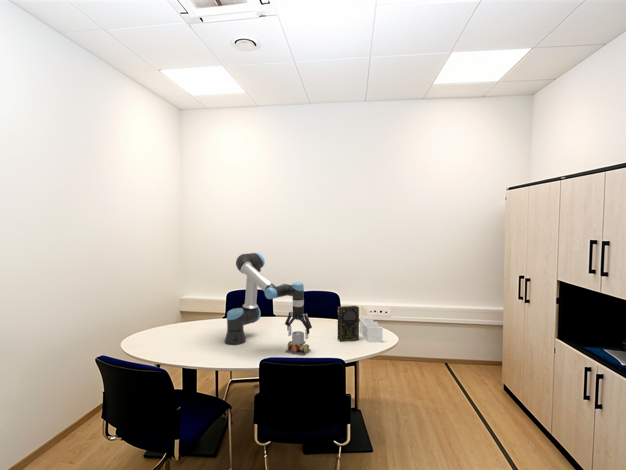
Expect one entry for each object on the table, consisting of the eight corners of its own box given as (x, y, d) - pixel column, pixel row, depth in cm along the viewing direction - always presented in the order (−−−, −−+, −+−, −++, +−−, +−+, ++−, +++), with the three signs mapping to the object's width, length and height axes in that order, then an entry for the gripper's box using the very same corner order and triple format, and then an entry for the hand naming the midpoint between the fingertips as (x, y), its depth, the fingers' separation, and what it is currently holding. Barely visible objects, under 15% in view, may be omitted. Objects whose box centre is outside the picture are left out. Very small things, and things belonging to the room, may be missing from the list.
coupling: (296, 339, 240) (296, 330, 240) (306, 341, 236) (306, 332, 236) (289, 342, 233) (289, 333, 233) (299, 344, 229) (299, 335, 229)
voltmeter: (340, 342, 252) (340, 308, 252) (336, 338, 261) (336, 305, 260) (360, 340, 256) (360, 307, 256) (355, 337, 265) (355, 304, 264)
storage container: (359, 332, 277) (359, 318, 277) (373, 332, 278) (373, 318, 278) (367, 342, 252) (367, 327, 252) (382, 342, 254) (382, 327, 253)
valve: (284, 352, 233) (284, 333, 233) (293, 347, 242) (293, 329, 242) (302, 356, 226) (302, 337, 226) (310, 350, 235) (310, 332, 235)
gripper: (279, 304, 237) (279, 335, 237) (311, 309, 224) (311, 341, 225) (286, 302, 243) (286, 332, 244) (316, 306, 231) (317, 338, 231)
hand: (298, 337), depth 234 cm, fingers open, 13 cm apart
